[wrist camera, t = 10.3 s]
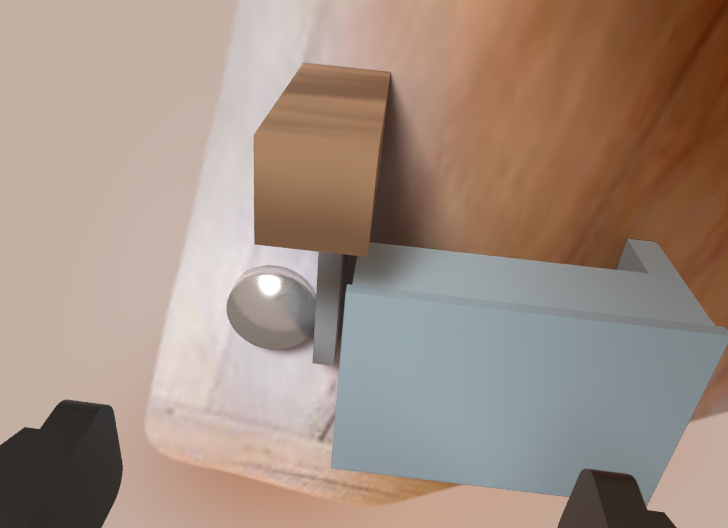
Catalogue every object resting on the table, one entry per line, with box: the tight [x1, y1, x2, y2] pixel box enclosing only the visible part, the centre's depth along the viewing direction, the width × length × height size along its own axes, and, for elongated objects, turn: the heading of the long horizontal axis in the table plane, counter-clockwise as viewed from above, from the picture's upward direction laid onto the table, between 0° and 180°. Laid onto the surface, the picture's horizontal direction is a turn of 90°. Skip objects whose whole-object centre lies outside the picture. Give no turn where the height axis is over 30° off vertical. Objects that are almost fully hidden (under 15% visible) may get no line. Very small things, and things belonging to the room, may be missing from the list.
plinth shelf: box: [331, 239, 728, 506], centre depth 30 cm, size 10×15×8 cm
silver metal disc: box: [227, 265, 316, 350], centre depth 35 cm, size 5×5×1 cm
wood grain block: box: [254, 63, 390, 366], centre depth 28 cm, size 16×4×10 cm, turn 175°
